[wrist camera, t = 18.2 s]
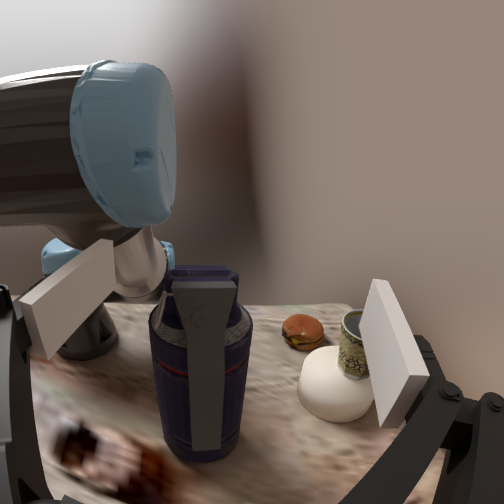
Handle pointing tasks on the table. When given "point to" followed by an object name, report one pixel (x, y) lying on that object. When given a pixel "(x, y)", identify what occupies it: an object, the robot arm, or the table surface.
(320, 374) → the plinth
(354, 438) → the table surface
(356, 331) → the ceramic cup
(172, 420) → the grenade
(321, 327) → the burger
